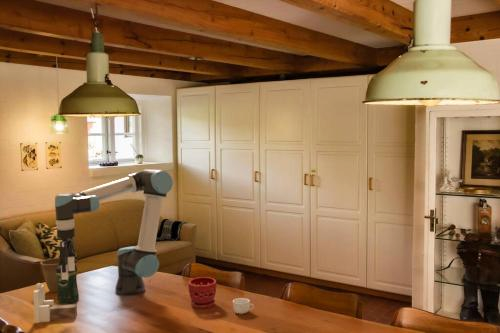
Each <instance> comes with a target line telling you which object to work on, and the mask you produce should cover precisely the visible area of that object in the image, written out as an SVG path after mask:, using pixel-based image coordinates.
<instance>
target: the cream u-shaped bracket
mask: <svg viewBox="0 0 500 333" xmlns="http://www.w3.org/2000/svg"><path fill="white" fill-rule="evenodd" d="M45 288H46V287H45V284H42V283H40V282H38V283H36V284H35V289H34V291H33V292H32V294H33V295H32V296H33V312H34V324H40V323H48V322H51V320H50V306H55V301H54V299H46V293H45V290H46V289H45Z"/></svg>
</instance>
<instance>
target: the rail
mask: <svg viewBox="0 0 500 333" xmlns="http://www.w3.org/2000/svg"><path fill="white" fill-rule="evenodd" d="M77 307H78V305H77V304H63V305H54V306H50V321H54V320H66V319H67V320H68V319H69V320H70V319H76V317H77V316H78V308H77Z"/></svg>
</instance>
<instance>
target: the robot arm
mask: <svg viewBox="0 0 500 333" xmlns="http://www.w3.org/2000/svg"><path fill="white" fill-rule="evenodd" d="M173 185H174V184H173V178H172V176H171V175H170V173H169V172H168V171H166V170H162V169H153V168H152V169H150V168H146V169H142V170H139V171H136V172H133V173H130V174H127V175H126V176H125V177H124V178H121V179H118V180H115V181H111V182H108V183H104V184H101V185H98V186H95V187H91V188H89V189H85V190H82V191H79V192H75V193H61V194H57V195H55V198H54V207H55V209H54V210H55V220H56V221H55V225H56V229H57V230H56V237H57V239H61V242H59V258H60V260H59V265H61V277H62V280H65V279H68V269H69V271H75V257H76V256H77V253H76V252H75V245H74V241H73V238H74V237H75V236H76V235H75V234H76V233H75V232H76V231H75V228H74V227H75V217H74V216H75V215H78V214H84V213H85V214H86V213H92V212H97V211H98V210H99V208H100V202H102V201H106V200H110V199H112V198H115V197H118V196H122V195H124V194H127V193H130V192H131V193H133V194H134V193H136V192H143V193H142V194H143V196H144V198H145V200H144V206H143V212H142V217H141V222H140V228H139V236H138V240H137V245H131V246H126V247H120V248H119V249H118V250H117V257H116V258H117V271H118V277H117V281H116V285H115V294H117V295H120V296H121V295H122V296H129V295H130V296H131V295H138V294H140V293H143V292H145V290H146V284H145V282H144V279H143V278H145V279H147V278H151V277H152V276H154V275H155V274H156V273H157V272H158V269H159V267H160V261H159V259H158V257H157V253H158V250H157V249H156V242H157V234H158V230H159V223H160V217H161V212H162V207H163V201H164V200H165V199H166V198H167V194H168V193H170V191H171V190H172V188H173ZM67 258H68V264H67Z"/></svg>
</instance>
